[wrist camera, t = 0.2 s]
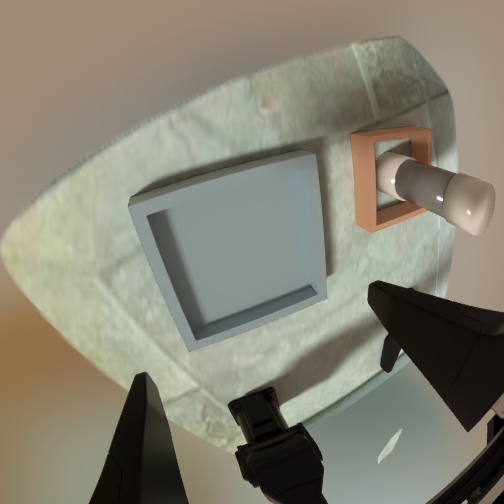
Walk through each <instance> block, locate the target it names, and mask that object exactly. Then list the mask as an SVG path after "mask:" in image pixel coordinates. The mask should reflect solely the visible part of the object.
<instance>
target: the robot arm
mask: <svg viewBox="0 0 504 504" xmlns="http://www.w3.org/2000/svg"><path fill="white" fill-rule="evenodd" d="M367 300H368V304H369V305H370V307H371V308H372V310H373V311H374V313H375V314H376V316H377V317H378V318H379V320H380V321H381V323H382V324H383V326H384V327H385V329H386V330H387V331H388V333H389V334H390V335H391V336H392V337H393V339H394V340H395V341H396V342H397V343H398V345H399V346H400V347H401V348H402V349H403V351H404V352H405V353H406V354H407V355H408V357H409V358H410V359H411V360H412V362H413V363H414V364H415V365H416V366H417V368H418V369H419V370H420V371H421V373H422V374H423V375H424V376H425V378H426V379H427V380H428V381H429V383H430V384H431V385H432V386H433V388H434V389H435V390H436V391H437V393H438V394H439V395H440V397H441V398H442V399H443V401H444V402H445V403H446V405H447V406H448V407H449V409H451V411H452V412H453V413H454V415H455V416H456V418H457V419H458V420H459V422H460V423H461V424H462V426H463V427H464V429H465V430H466V431H467V432H469V431H470V430H471V429H472V428H473V427H474V426H475V425H476V424H477V423H478V422H479V421H480V420H481V419H482V417H483V416H484V415H485V414H486V413H487V412H488V411H489V410H490V409H492V410H493V411H494V412H495V413H496V414H495V415H494V416H493V417H492V418H491V420H490V421H489V422H488V423H487V427H488V428H487V446H486V447H485V448H484V450H482V452H481V453H480V454H479V455H478V456H477V457H476V458H475V459H474V460H473V461H472V462H471V463H470V464H469V465H468V466H467V467H466V468H465V469H464V470H463V471H462V472H461V473H460V474H459V475H458V476H457V477H456V478H455V479H454V480H453V481H452V482H451V483H449V484H448V485H447V486H446V487H445V488H444V489H443V490H441V492H439V493H438V494H437V495H436V496H434V497H433V498H432V499H431V500H429V501H428V502H427V503H426V504H461V503H462V502H463V501H465V500H467V501H468V503H467V504H504V312H498V311H493V310H488V309H482V308H478V307H473V306H469V305H465V304H461V303H457V302H454V301H453V302H452V301H450V300H447V299H443V298H440V297H436V296H433V295H429V294H426V293H422V292H419V291H415V290H411V289H408V288H404V287H401V286H397V285H394V284H390V283H386V282H383V281H379V280H377V281H375V282H373V283H371V284H370V285H369V288H368V298H367ZM228 408H229V410H230V412H231V414H232V415H233V417H234V419H235V421H236V423H237V425H238V426H240V427H241V429H242V432H243V434H244V436H245V439H246V441H247V444H245V445H242V446H241V445H240V446H237V448H238V450H237V451H236V452H235V456H236V458H237V461H238V464H239V467H240V470H241V473H242V476H243V479H244V480H246V481H249V482H250V483H251V484H252V485H253V486H254V488H257V487H259V486H260V488H261V490H262V492H263V494H264V495H265V496H266V498H267V499H268V500H269V501H270V502H272V503H274V504H328V503H327V501H326V499H325V498H324V496H323V494H322V484H323V474H324V467H323V465H322V463H321V461H323V458H322V454H321V452H320V450H319V448H318V446H317V444H316V443H315V441H314V440H313V438H312V437H311V436H310V434H309V433H308V431H307V430H306V429H305V427H304V426H303V425H302V423H301V422H300V423H298V424H297V425H295V426H292V427H290V428H289V427H288V425H287V423H286V421H285V419H284V417H283V416H282V414H281V412H280V408H279V404H278V400H277V396H276V392H275V389H274V388H273V387H271V388H268V389H266V390H263V391H261V392H258V393H256V394H253V395H251V396H248V397H245V398H243V399H240V400H237V401H234V402H232V403H229V404H228ZM108 453H109V454H108V455H107V458H106V461H105V464H104V467H103V470H102V473H101V476H100V478H99V481H98V484H97V486H96V488H95V490H94V493H93V495H92V497H91V500H90V502H89V504H189V503H188V499H187V496H186V492H185V489H184V485H183V482H182V478H181V474H180V470H179V467H178V462H177V459H176V454H175V450H174V446H173V441H172V436H171V432H170V428H169V424H168V421H167V417H166V414H165V411H164V408H163V405H162V402H161V398H160V395H159V392H158V389H157V386H156V384H155V383H154V381H153V380H152V379H151V377H150V376H149V374H148V373H147V372H142V373H139V374H136V375H135V377H134V380H133V382H132V385H131V388H130V391H129V393H128V396H127V399H126V402H125V404H124V407H123V410H122V413H121V416H120V419H119V421H118V424H117V427H116V430H115V433H114V436H113V439H112V442H111V446H110V449H109V452H108Z"/></svg>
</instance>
